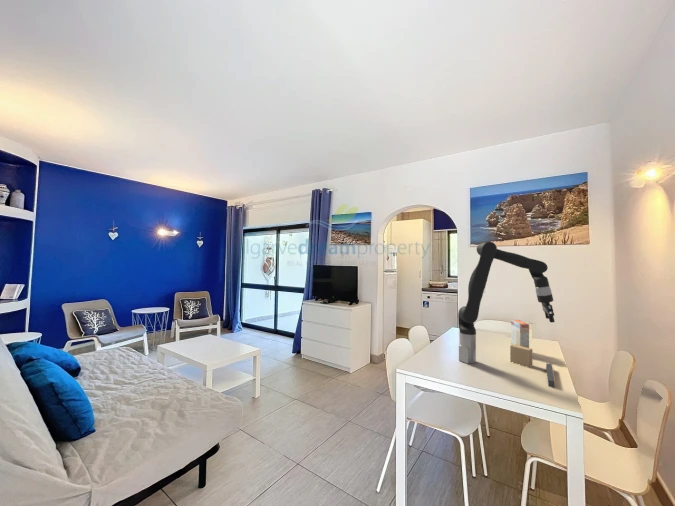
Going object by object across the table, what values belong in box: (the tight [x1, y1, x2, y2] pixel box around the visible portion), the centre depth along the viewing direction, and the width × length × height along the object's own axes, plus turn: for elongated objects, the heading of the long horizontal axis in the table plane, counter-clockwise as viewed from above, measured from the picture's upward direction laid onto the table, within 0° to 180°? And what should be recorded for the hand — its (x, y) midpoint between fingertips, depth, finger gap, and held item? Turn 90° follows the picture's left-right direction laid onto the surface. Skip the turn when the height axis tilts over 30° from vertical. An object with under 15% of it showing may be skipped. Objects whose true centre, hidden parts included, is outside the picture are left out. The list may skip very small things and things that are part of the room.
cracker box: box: [510, 319, 530, 348], centre depth 188 cm, size 14×6×21 cm, turn 168°
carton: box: [509, 344, 534, 368], centre depth 167 cm, size 10×5×10 cm, turn 34°
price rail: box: [545, 363, 556, 388], centre depth 148 cm, size 28×3×3 cm, turn 145°
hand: (550, 320), depth 166 cm, fingers open, 8 cm apart
